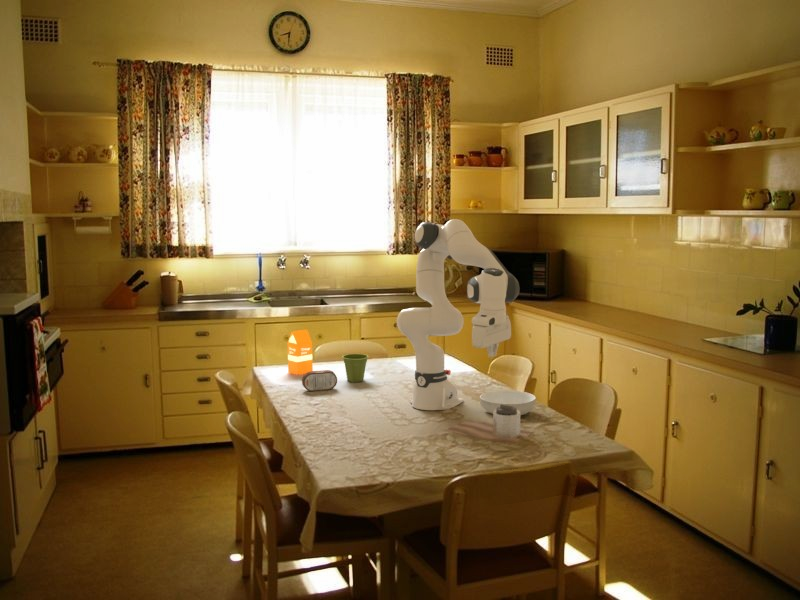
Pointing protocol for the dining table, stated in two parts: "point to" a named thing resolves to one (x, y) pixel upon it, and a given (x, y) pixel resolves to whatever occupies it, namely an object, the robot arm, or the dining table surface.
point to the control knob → (506, 409)
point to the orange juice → (300, 352)
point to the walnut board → (483, 431)
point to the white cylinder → (506, 425)
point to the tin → (319, 380)
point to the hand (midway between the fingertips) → (492, 356)
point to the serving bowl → (508, 400)
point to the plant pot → (355, 366)
